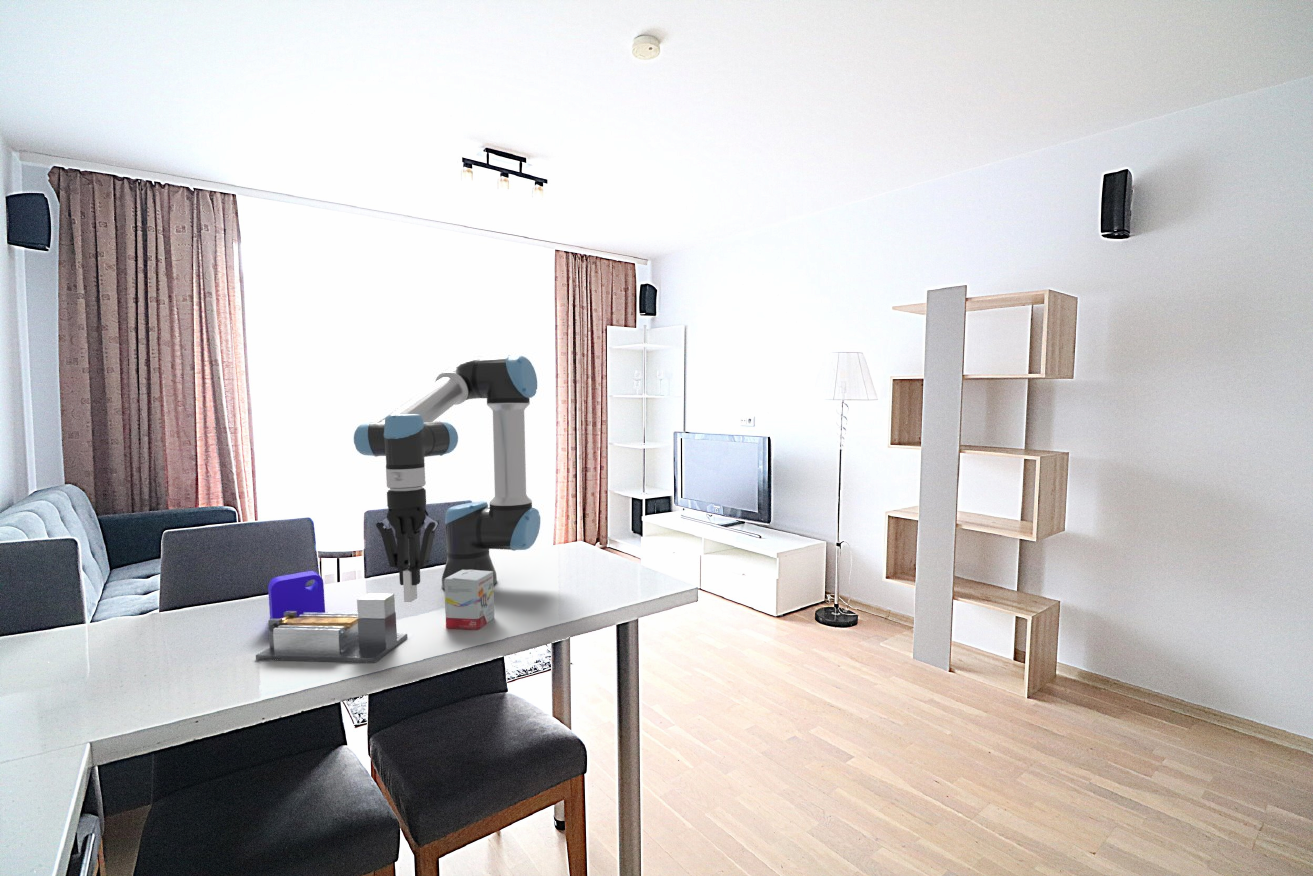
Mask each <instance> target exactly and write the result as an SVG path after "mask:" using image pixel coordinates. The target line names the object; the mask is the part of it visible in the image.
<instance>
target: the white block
mask: <svg viewBox="0 0 1313 876" xmlns="http://www.w3.org/2000/svg"><path fill="white" fill-rule="evenodd" d="M395 602H396V601H395V593H374V592H373V593H369V592H368V593H366V594H364V595H363V596H361V597H359V598H357V599H356V603H357V604H356V606H357V613H358V618H376V619H385V618H387V617H388V616H390V615H391V614H393V613H394V612H396V606H395V605H396V604H395Z"/></svg>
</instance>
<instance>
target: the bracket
mask: <svg viewBox="0 0 1313 876" xmlns="http://www.w3.org/2000/svg"><path fill="white" fill-rule="evenodd" d="M312 580H313V581H314V582H313V583H312V585H310V586H306V585H307V583H308V582H309V581H312ZM267 595H268V607H269V608H268V609H269V620H270V619H280V618H284V612H286V611H297V618H299V615H303V613H326V602H325V584H324V579H323V577H322V576H320V574H319V573H318V572H316V571H313V570H307V571H302V572H297V573H296V572H295V573H292V574H285V575H279V576H275V577H273V578H272V579H271V580H270V581H269V583H268V584H267Z"/></svg>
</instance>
